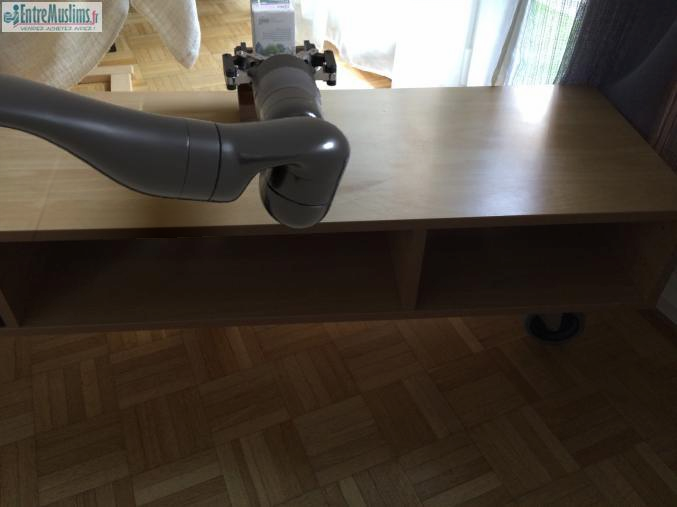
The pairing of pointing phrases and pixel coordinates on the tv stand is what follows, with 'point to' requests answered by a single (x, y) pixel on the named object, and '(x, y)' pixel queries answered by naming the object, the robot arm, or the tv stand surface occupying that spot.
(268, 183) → the robot arm
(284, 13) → the syrup box
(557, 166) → the tv stand surface
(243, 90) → the spice rack
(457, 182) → the tv stand surface
